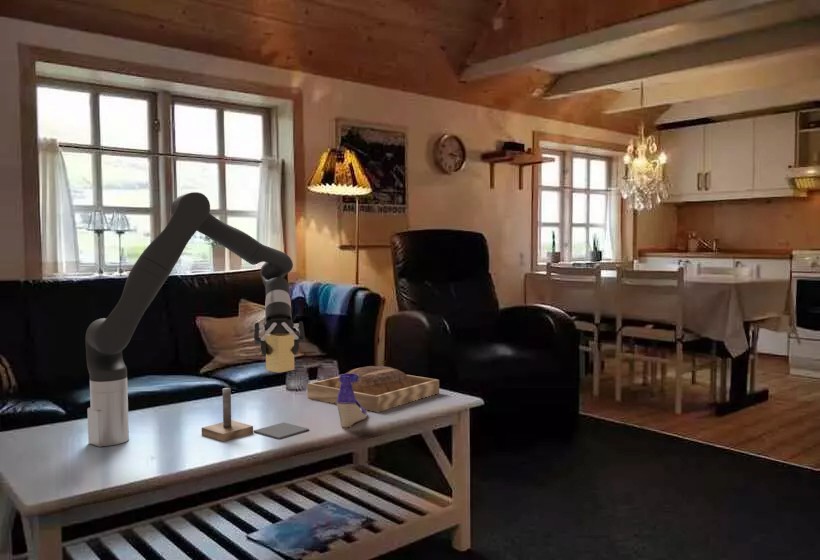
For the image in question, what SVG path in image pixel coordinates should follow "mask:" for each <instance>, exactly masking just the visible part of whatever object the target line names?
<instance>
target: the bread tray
mask: <svg viewBox="0 0 820 560" xmlns="http://www.w3.org/2000/svg"><path fill="white" fill-rule="evenodd" d="M406 375H407V376H408V377H409V379H410V380H411V383H412V386H410V387H407V388H403V389H399V390H395V391H392V392H388V393H384V394H380V395H377V396H375V395H370V394H365V393H359V392H354V391H353V392H354V395H355V399H356V400H357V401H358V402H359V404H360V406H361V407H363V408H364V409H366V411H368V410H370V411H369V412H372V411H374V412H373V413H378V411H379V412H382V410H383V411H385V409H386V410H389V409H388V408H390V409H392V408H391V407H393V408H395V406H396V407H398V405H400V406H402V405H401V404H403V405H406V404H409V403H408V402H410V403H413V402H416V401H419V400H418V399H420V400H422V399H421V398H423V399H426V398H425V397H427V398H429V397H428V396H430V397H432V396H431V395H433V396H436V395H435V394H437V395H439V394H440V379H437V378H431V377H424V376H416V375H411V374H406ZM338 380H339V376H336V377H335V376H334V377H330V378H327V379H323V380H318V381H313V382H308V383H307V385H306V386H307V388H306V390H307V391H306V392H307V399H309V400H310V399H311V400H315V401H319V402H324V403H325V402H326V403H329V402H330V403H329V404H334V403H335V405H337V398H338V394H339V390H340V389H338V388H335V386H336V383H337V382H338ZM438 393H439V394H438ZM415 400H416V401H415ZM412 401H413V402H412ZM405 403H406V404H405ZM358 407H359V406H358ZM361 407H359V408H361Z"/></svg>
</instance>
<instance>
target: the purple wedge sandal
mask: <svg viewBox="0 0 820 560" xmlns="http://www.w3.org/2000/svg"><path fill="white" fill-rule="evenodd" d="M358 376H359V374H358V375H356V374H346V373H343V374H339V376H338V377H339V381H340V382H341V386H340V390H339V394H338V398H337V404H336V408H337V411H338V416H339V421H340V426H341V427H342V428H341V429H343V428H347V429H349V428H348V427H350V426H352V425H354V424H356V423H359V422H361V421H363V420H365V418H366V419H367V415H368V410H365V409H364V408H363V407H361V406H360V404H359V402H358V401H357V400H356V399H355V395H354V392H353V389H352V386H351V383H353V382H355V383H357V382H358ZM358 406H359V407H361V408H359V407H358ZM352 427H353V426H352ZM350 428H351V427H350Z"/></svg>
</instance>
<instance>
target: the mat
mask: <svg viewBox="0 0 820 560" xmlns="http://www.w3.org/2000/svg"><path fill="white" fill-rule="evenodd" d="M306 430H309V431H310V428H307V427H304V426H300V425H295V424H292V423H287V422H280V423H275V424H273V425H269V426H266V427H261V428H258V429H253V434H254V433H255V434H258V435H261V434H262V436H265V437H269V438H272V437H273V439H277V440H281V438H282V439H284V438H287V436H289V437H291V436H290V435H292V436H295V435H298V434H297V433H299V434H301V433H300V432H302V433H304V432H303V431H305V432H307V431H306ZM294 434H295V435H294Z"/></svg>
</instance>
